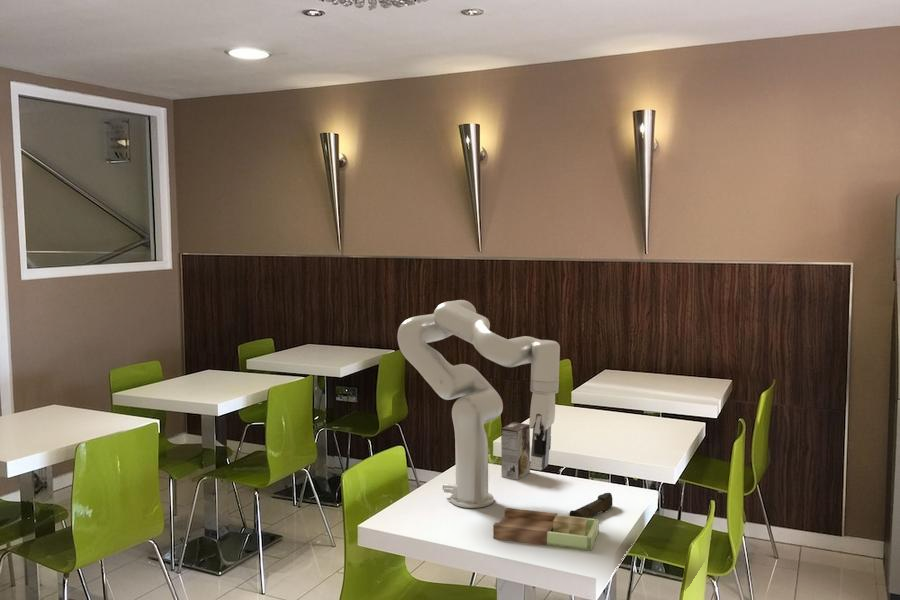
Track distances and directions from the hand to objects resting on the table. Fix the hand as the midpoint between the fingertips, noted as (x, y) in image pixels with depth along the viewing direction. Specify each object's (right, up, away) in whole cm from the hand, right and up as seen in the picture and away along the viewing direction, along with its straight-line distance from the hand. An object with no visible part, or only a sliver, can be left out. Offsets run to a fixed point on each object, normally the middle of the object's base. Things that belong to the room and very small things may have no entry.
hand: (542, 451), depth 209 cm
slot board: (-5, -20, -9) cm, 22 cm away
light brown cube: (+4, -19, -12) cm, 23 cm away
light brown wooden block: (+8, -19, -13) cm, 24 cm away
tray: (+6, -20, -13) cm, 24 cm away
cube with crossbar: (-1, -4, +1) cm, 4 cm away
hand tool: (+14, -19, +4) cm, 24 cm away
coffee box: (-4, -16, +39) cm, 43 cm away
